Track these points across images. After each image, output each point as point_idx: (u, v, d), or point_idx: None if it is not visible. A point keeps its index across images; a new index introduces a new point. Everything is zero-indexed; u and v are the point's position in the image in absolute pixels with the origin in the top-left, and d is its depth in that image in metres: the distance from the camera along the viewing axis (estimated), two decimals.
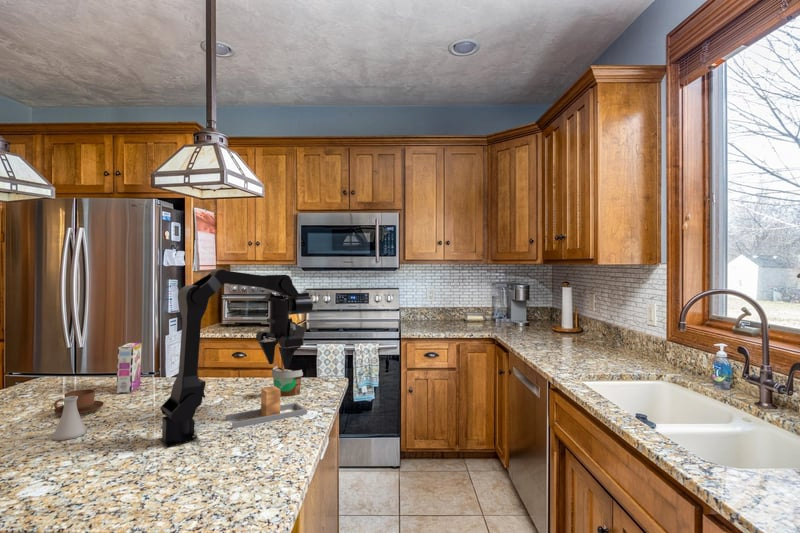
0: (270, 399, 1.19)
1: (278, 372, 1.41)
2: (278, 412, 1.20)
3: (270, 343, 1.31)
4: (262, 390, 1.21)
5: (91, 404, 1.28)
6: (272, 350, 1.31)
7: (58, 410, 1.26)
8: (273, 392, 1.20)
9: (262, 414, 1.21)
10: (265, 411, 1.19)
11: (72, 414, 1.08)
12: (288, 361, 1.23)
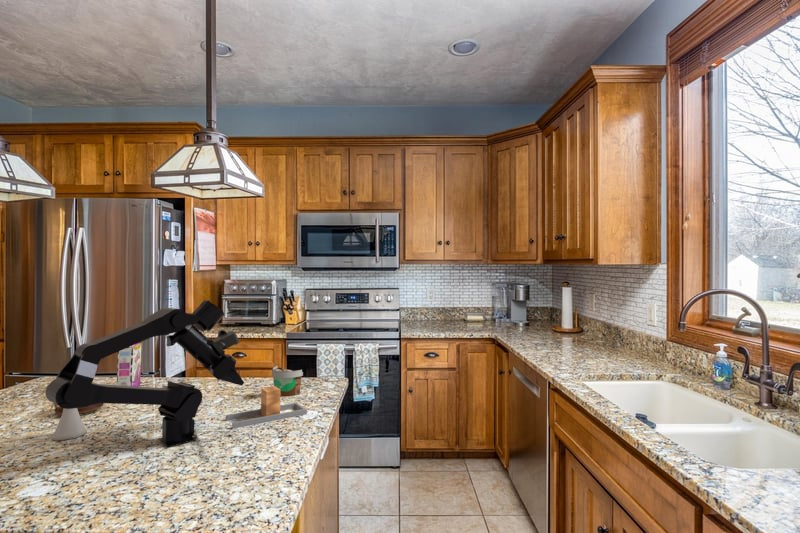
0: (270, 399, 1.19)
1: (278, 372, 1.41)
2: (278, 412, 1.20)
3: None
4: (262, 390, 1.21)
5: None
6: None
7: (58, 410, 1.26)
8: (273, 392, 1.20)
9: (262, 414, 1.21)
10: (265, 411, 1.19)
11: (72, 414, 1.08)
12: (237, 378, 1.12)
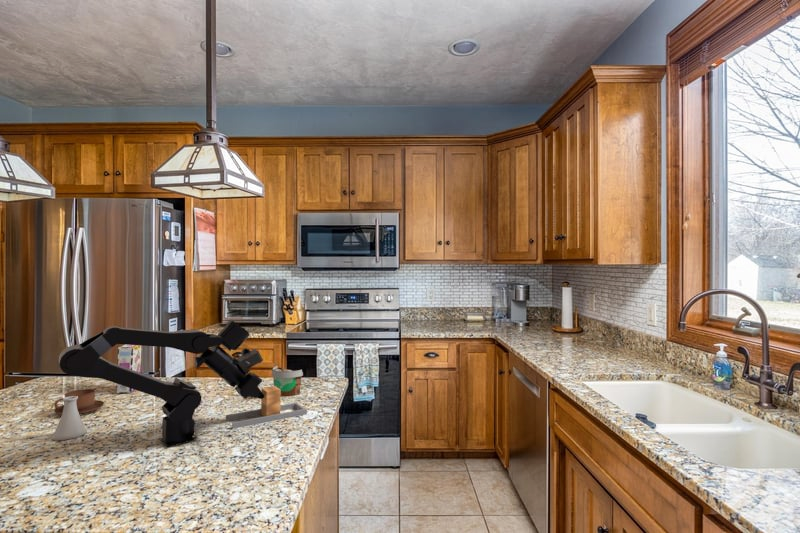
0: (270, 399, 1.19)
1: (278, 372, 1.41)
2: (278, 412, 1.20)
3: None
4: (262, 390, 1.22)
5: (91, 404, 1.28)
6: None
7: (58, 410, 1.26)
8: (273, 392, 1.20)
9: (262, 414, 1.21)
10: (265, 411, 1.19)
11: (72, 414, 1.08)
12: (258, 393, 1.19)
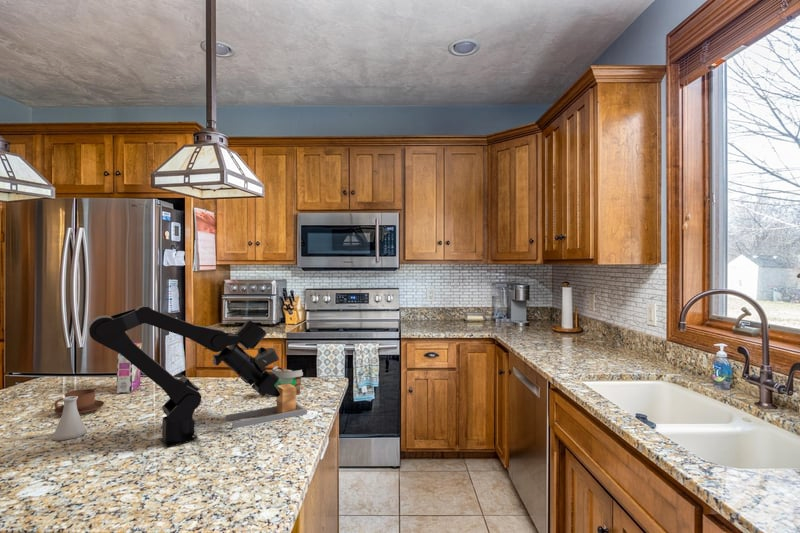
0: (286, 397, 1.22)
1: (278, 372, 1.41)
2: (294, 409, 1.23)
3: None
4: (278, 388, 1.24)
5: (91, 404, 1.28)
6: None
7: (58, 410, 1.26)
8: (289, 390, 1.22)
9: (278, 411, 1.24)
10: (281, 408, 1.21)
11: (72, 414, 1.08)
12: (274, 391, 1.21)
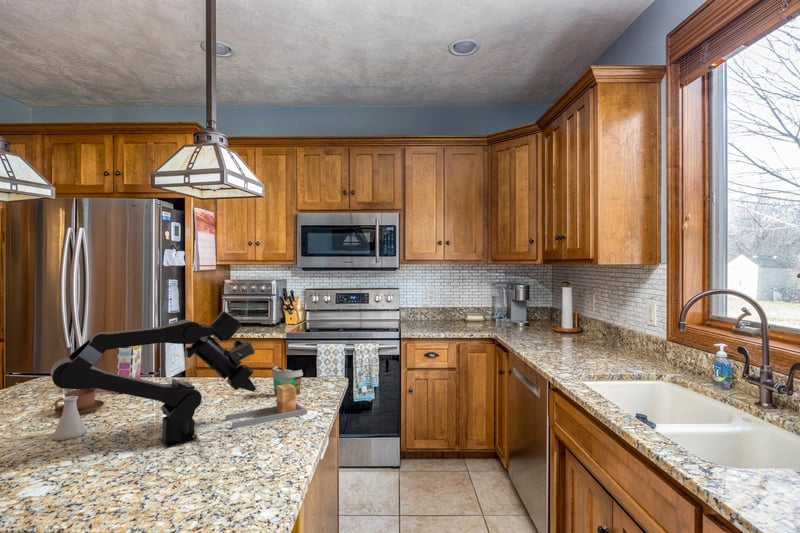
0: (286, 397, 1.22)
1: (278, 372, 1.41)
2: (294, 409, 1.23)
3: None
4: (278, 388, 1.24)
5: (91, 404, 1.28)
6: None
7: (59, 410, 1.26)
8: (289, 390, 1.22)
9: (278, 411, 1.24)
10: (281, 408, 1.21)
11: (72, 414, 1.08)
12: (250, 385, 1.17)
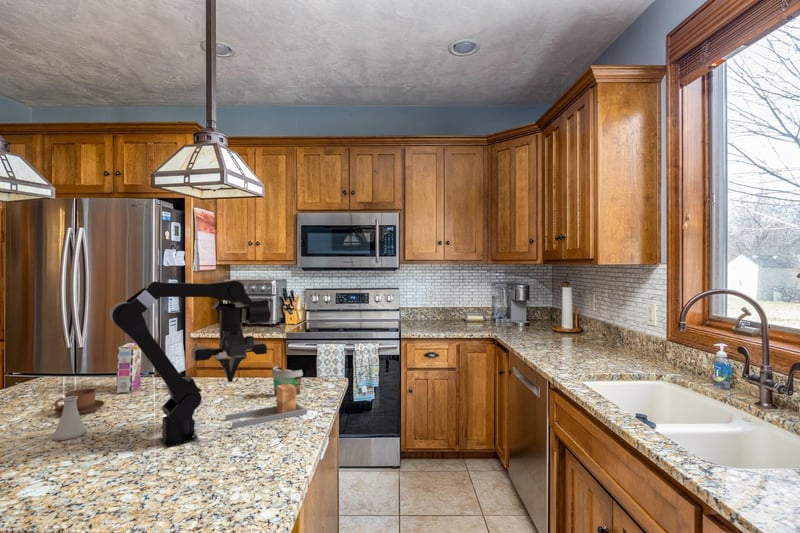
0: (286, 397, 1.22)
1: (278, 372, 1.41)
2: (294, 409, 1.23)
3: (232, 358, 1.16)
4: (278, 388, 1.24)
5: (91, 403, 1.28)
6: (231, 366, 1.15)
7: (59, 409, 1.26)
8: (289, 390, 1.22)
9: (278, 411, 1.24)
10: (281, 408, 1.21)
11: (72, 414, 1.08)
12: (226, 373, 1.14)
